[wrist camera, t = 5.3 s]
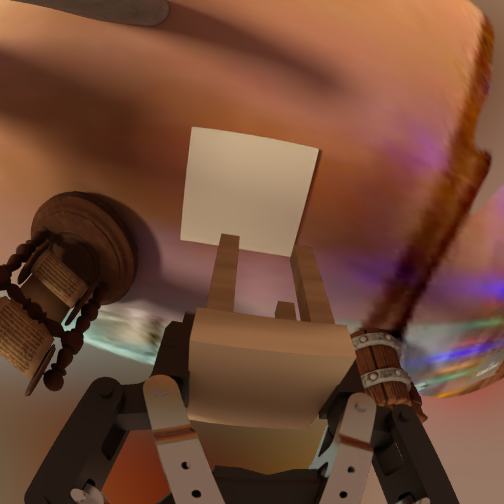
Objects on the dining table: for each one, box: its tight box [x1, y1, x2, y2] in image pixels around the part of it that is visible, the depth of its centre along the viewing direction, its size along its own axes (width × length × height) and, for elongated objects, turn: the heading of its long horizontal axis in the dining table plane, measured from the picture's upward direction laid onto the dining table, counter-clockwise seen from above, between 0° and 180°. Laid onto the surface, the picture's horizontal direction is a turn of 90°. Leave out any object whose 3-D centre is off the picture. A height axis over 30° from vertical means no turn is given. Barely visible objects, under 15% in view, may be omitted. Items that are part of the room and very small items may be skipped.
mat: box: [180, 126, 319, 257], centre depth 29 cm, size 12×12×1 cm
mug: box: [350, 329, 428, 423], centre depth 36 cm, size 12×14×15 cm
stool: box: [187, 233, 356, 429], centre depth 14 cm, size 6×6×8 cm
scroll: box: [0, 191, 137, 396], centre depth 24 cm, size 15×15×20 cm
